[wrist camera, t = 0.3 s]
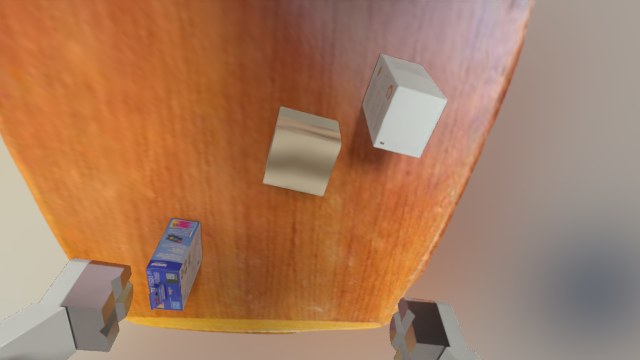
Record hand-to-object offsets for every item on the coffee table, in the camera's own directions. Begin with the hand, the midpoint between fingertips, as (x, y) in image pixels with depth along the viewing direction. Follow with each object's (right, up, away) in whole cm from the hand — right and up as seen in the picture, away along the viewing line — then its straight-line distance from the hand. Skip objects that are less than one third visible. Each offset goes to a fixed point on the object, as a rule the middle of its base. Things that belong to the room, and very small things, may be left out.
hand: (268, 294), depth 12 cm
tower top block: (-1, +8, +46) cm, 47 cm away
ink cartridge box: (-23, -7, +61) cm, 65 cm away
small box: (+12, +17, +45) cm, 49 cm away
